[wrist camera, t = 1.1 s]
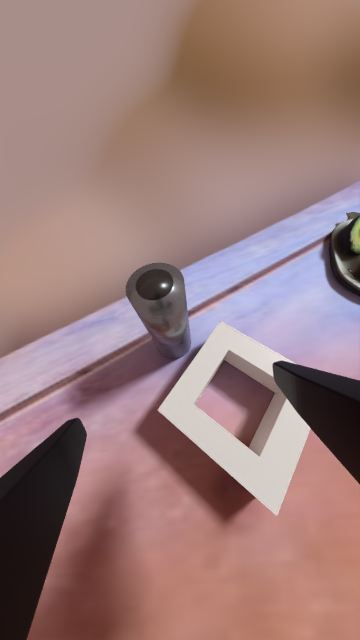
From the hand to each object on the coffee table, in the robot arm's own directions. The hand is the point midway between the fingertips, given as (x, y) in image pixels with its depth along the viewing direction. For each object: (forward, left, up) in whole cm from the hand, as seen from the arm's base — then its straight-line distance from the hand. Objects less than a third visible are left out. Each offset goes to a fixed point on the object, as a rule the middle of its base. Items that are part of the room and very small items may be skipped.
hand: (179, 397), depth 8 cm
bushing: (+5, +6, -13) cm, 16 cm away
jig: (+4, -3, -13) cm, 14 cm away
